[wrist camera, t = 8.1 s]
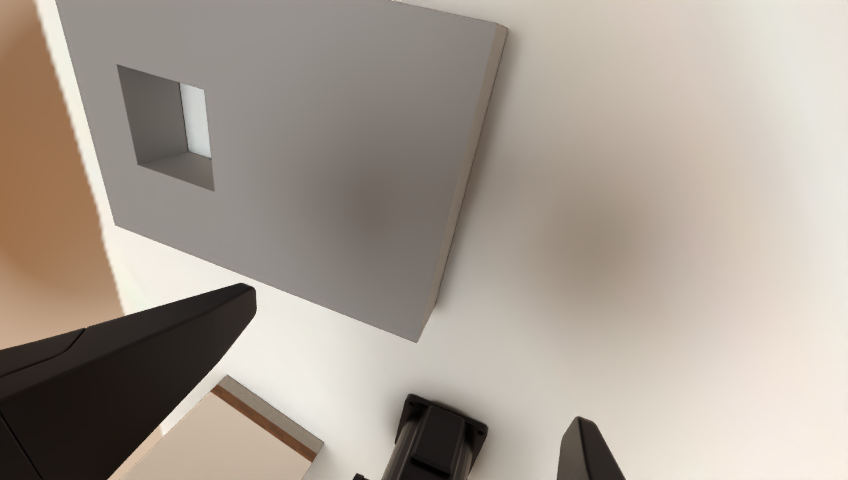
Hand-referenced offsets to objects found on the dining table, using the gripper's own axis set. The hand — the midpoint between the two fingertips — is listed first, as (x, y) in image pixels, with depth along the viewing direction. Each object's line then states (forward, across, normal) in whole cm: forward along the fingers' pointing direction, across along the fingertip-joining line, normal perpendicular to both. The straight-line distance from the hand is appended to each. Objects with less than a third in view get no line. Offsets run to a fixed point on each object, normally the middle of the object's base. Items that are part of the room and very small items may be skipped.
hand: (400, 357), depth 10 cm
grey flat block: (+12, +12, 0) cm, 17 cm away
